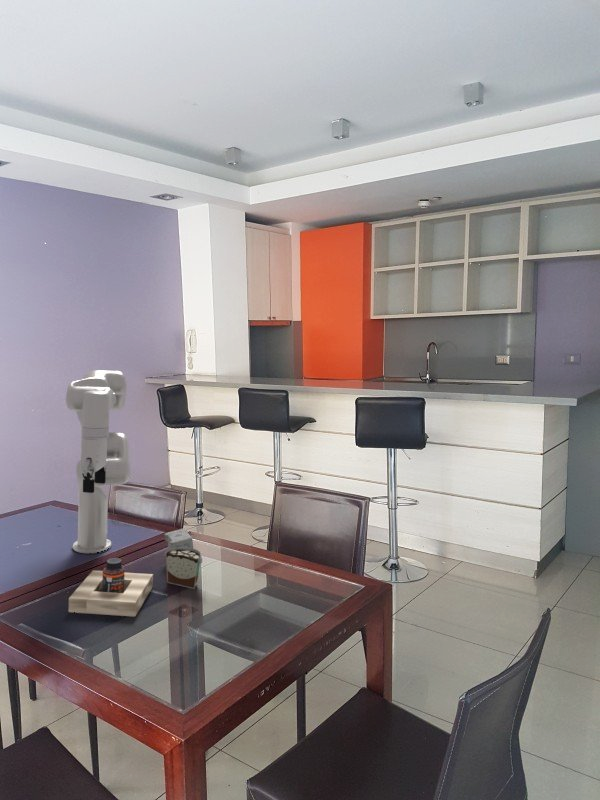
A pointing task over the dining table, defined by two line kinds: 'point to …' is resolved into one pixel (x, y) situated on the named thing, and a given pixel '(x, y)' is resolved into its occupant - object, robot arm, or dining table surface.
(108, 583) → the supplement bottle
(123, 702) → the dining table surface
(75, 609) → the socket board
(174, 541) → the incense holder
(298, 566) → the dining table surface
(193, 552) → the food container
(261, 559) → the dining table surface
